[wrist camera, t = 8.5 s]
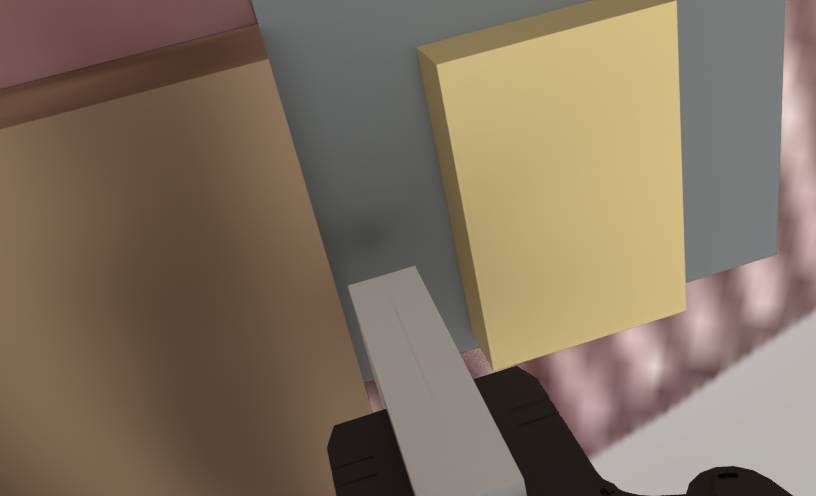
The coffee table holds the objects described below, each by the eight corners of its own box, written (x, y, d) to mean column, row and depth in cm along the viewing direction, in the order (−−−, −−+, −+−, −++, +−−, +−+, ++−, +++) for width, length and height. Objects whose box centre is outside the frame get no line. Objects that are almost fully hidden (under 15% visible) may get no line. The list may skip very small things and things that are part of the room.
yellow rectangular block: (493, 371, 22) (472, 334, 24) (686, 310, 22) (652, 278, 24) (436, 65, 18) (415, 47, 19) (676, 0, 18) (635, -11, 20)
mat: (362, 375, 24) (363, 383, 23) (245, -19, 18) (246, -17, 18) (769, 248, 25) (776, 254, 25) (780, -153, 20) (790, -154, 19)
